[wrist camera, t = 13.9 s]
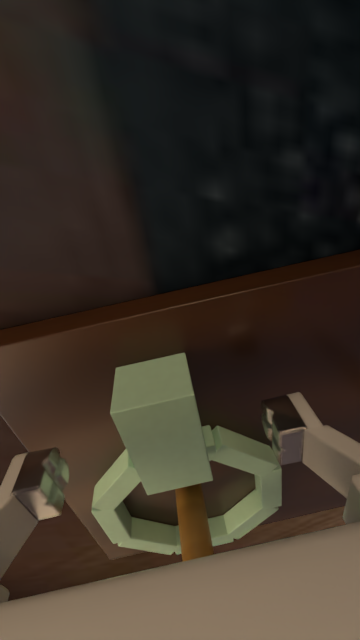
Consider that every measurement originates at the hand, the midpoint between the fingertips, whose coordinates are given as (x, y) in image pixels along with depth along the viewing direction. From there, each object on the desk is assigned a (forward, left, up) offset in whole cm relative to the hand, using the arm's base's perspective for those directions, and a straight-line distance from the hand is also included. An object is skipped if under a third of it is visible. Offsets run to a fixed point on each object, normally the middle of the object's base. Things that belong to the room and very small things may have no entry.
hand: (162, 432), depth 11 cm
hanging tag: (+6, 0, -2) cm, 6 cm away
